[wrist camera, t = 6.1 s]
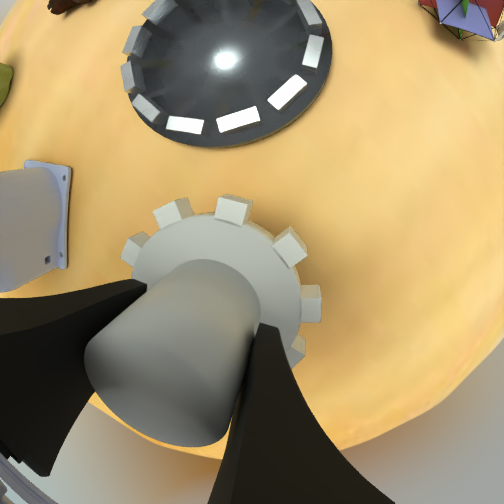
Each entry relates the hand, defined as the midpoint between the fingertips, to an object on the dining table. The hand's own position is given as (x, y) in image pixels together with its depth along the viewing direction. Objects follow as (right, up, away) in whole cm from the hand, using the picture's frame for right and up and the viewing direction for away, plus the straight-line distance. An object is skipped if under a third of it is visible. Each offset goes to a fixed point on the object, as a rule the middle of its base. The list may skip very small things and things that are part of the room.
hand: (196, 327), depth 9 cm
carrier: (0, +16, +5) cm, 17 cm away
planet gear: (0, +1, +2) cm, 3 cm away
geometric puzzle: (+17, +21, +1) cm, 27 cm away
